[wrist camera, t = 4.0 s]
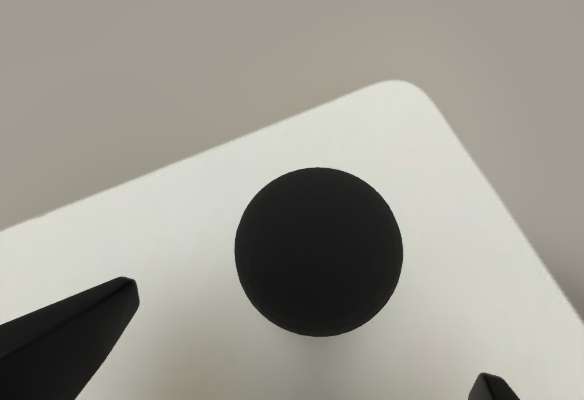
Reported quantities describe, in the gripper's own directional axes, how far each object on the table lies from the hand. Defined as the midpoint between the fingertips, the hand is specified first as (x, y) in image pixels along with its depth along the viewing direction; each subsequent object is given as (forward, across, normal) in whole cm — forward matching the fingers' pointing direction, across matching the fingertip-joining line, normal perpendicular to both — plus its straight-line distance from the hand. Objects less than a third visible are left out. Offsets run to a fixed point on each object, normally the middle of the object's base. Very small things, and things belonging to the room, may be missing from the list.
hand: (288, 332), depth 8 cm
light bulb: (+9, 0, +5) cm, 10 cm away
